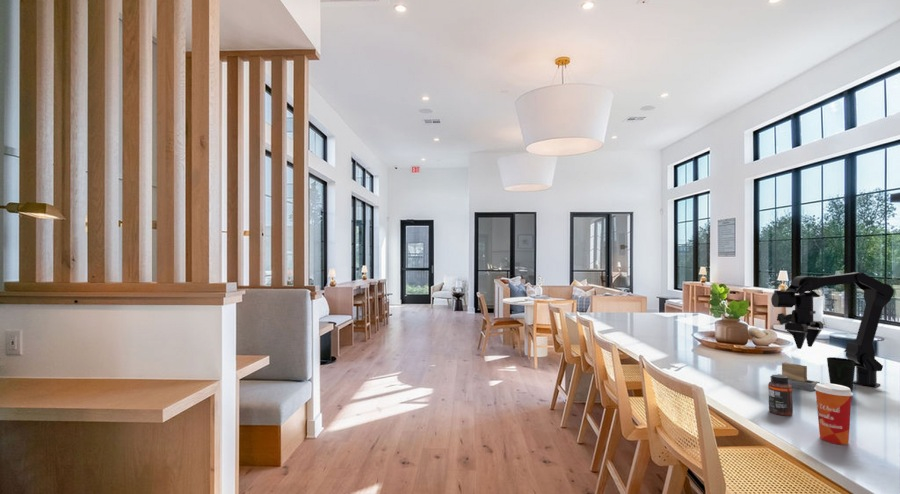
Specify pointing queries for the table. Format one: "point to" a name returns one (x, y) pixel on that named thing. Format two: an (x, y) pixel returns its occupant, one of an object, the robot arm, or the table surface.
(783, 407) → the supplement bottle
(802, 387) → the track
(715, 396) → the table surface
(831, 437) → the paper cup
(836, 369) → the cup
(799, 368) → the oak panel
